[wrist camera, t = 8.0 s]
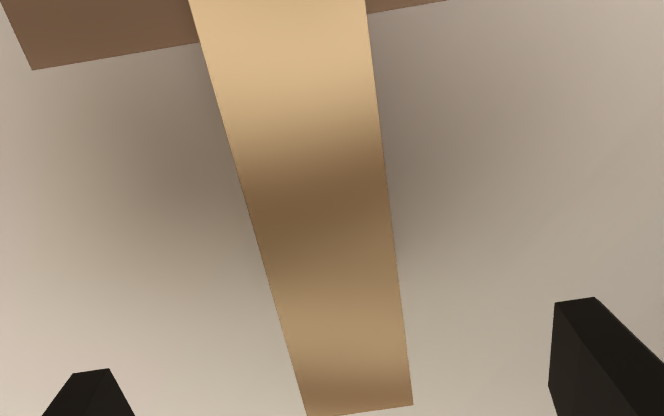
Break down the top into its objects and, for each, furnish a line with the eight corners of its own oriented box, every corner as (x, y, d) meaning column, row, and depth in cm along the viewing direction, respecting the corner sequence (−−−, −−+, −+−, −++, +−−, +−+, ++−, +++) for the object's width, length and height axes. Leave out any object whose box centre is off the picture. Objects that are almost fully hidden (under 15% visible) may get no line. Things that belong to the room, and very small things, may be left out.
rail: (386, 264, 23) (413, 404, 18) (303, 277, 23) (307, 420, 18) (325, -193, 14) (344, -166, 9) (196, -169, 14) (150, -132, 10)
